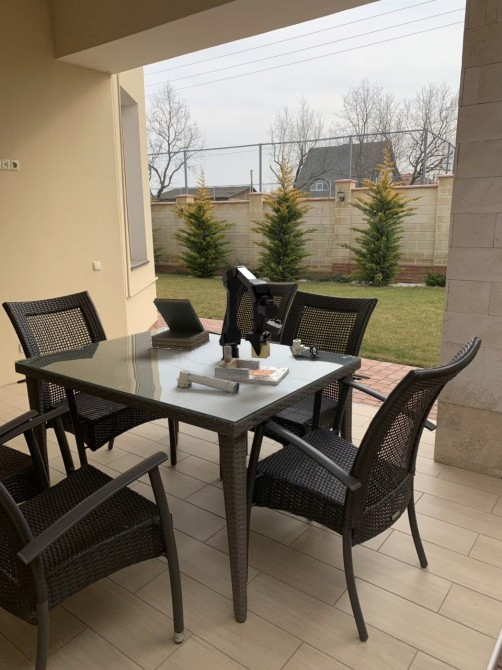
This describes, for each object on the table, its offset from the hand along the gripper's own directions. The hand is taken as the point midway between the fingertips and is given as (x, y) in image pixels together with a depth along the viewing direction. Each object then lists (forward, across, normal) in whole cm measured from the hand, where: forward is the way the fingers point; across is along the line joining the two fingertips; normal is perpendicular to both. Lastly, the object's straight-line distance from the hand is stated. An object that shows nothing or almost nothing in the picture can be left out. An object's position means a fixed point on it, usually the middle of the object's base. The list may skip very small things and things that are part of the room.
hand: (260, 354), depth 191 cm
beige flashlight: (+10, -20, +14) cm, 26 cm away
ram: (+7, 0, +14) cm, 16 cm away
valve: (+10, +35, -9) cm, 37 cm away
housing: (+1, 0, 0) cm, 1 cm away
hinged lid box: (+10, +41, +57) cm, 71 cm away
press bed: (+9, 0, +4) cm, 10 cm away
